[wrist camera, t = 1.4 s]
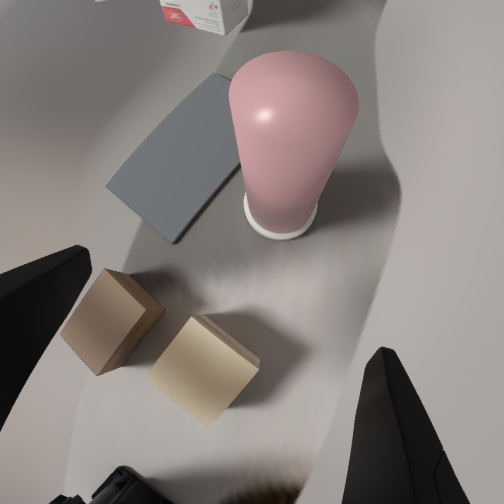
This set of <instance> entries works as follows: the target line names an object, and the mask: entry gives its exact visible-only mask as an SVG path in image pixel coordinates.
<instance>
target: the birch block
mask: <svg viewBox="0 0 504 504" xmlns="http://www.w3.org/2000/svg"><path fill="white" fill-rule="evenodd" d="M259 367H260V358H259V357H258V356H256V355H255V354H254V353H252V352H251V351H250V350H248V349H247V348H246V347H244V346H243V345H242V344H241V343H239V342H238V341H237V340H235V339H234V338H233V337H231V336H230V335H229V334H228V333H226V332H225V331H224V330H223V329H221V328H220V327H219V326H217V325H216V324H215V323H214V322H212V321H211V320H210V319H209V318H208V317H206V316H205V315H199V316H191V317H190V319H189V320H188V321H187V323H186V324H185V325H184V327H183V328H182V329H181V330H180V332H179V333H178V334H177V336H176V337H175V338H174V339H173V341H172V342H171V343H170V345H169V346H168V347H167V349H166V350H165V351H164V352H163V354H162V355H161V356H160V358H159V359H158V360H157V361H156V363H155V364H154V365H153V367H152V368H151V369H150V371H149V372H148V373H147V375H146V376H145V378H146V379H147V380H148V381H149V382H151V383H152V384H153V385H154V386H155V387H156V388H158V389H159V390H160V391H161V392H162V393H163V394H165V395H166V396H167V397H168V398H170V399H171V400H172V401H173V402H174V403H176V404H177V405H178V406H179V407H181V408H182V409H183V410H185V411H186V412H187V413H188V414H190V415H191V416H192V417H194V418H195V419H196V420H198V421H199V422H200V423H202V424H203V425H204V426H206V427H207V428H209V427H210V426H211V425H212V424H213V423H214V422H215V420H216V419H217V418H218V417H219V416H220V415H221V414H222V413H223V411H224V410H225V409H226V408H227V407H228V406H229V405H230V404H231V402H232V401H233V400H234V399H235V398H236V397H237V395H238V394H239V393H240V392H241V391H242V390H243V388H244V387H245V386H246V385H247V384H248V383H249V381H250V380H251V379H252V378H253V377H254V375H255V374H256V373H257V372H258V371H259Z"/></svg>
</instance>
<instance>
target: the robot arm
mask: <svg viewBox="0 0 504 504" xmlns="http://www.w3.org/2000/svg"><path fill="white" fill-rule="evenodd" d="M91 273H92V265H91V259H90V253H89V250H88V249H87V248H85V247H83V246H80V245H75V246H72V247H70V248H67V249H64V250H61V251H59V252H56V253H53V254H50V255H48V256H45V257H42V258H40V259H37V260H35V261H32V262H30V263H27V264H24V265H22V266H19V267H17V268H14V269H12V270H9V271H7V272H4V273H2V274H0V431H1V429H2V427H3V425H4V423H5V421H6V419H7V417H8V415H9V413H10V411H11V409H12V407H13V405H14V403H15V401H16V399H17V398H18V395H19V394H20V392H21V390H22V388H23V387H24V385H25V383H26V381H27V380H28V378H29V376H30V374H31V373H32V371H33V369H34V368H35V366H36V364H37V363H38V361H39V359H40V358H41V356H42V354H43V353H44V351H45V350H46V348H47V346H48V345H49V343H50V341H51V340H52V339H53V337H54V335H55V334H56V332H57V331H58V329H59V327H60V326H61V325H62V323H63V322H64V320H65V319H66V317H67V316H68V314H69V312H70V311H71V309H72V307H73V306H74V304H75V302H76V300H77V298H78V297H79V295H80V293H81V291H82V289H83V288H84V286H85V284H86V283H87V281H88V279H89V278H90V275H91ZM120 471H122V472H123V473H121V472H120ZM91 497H92V499H93V500H92V501H91V502H90V503H89V504H173V503H172V502H170V501H169V500H167V499H166V498H164V497H163V496H161V495H160V494H158V493H157V492H156V491H154V490H153V489H151V488H150V487H149V486H147V485H146V484H145V483H143V482H142V481H141V480H139V479H138V478H137V477H135V476H134V475H133V474H132V473H130V472H129V471H128V470H127V469H125V468H124V467H122V466H119V467H117V468H116V469H115V470H114V472H113V473H112V474H111V475H110V476H109V477H108V478H107V479H106V480H105V482H104V483H103V484H102V485H101V486H100V487H99V488H98V489H97V490H96V491H95V493H94V494H93V495H92V496H91ZM49 504H86V503H85V502H84V501H83V499H82V498H81V497H80V496H79V495H78V494H77V495H76V496H74V497H73V498H72V497H66V496H63V495H59V496H58V497H56V498H55V499H54V500H53V501H51V502H50V503H49ZM342 504H470V502H469V500H468V498H467V496H466V494H465V492H464V491H463V489H462V487H461V485H460V483H459V481H458V479H457V477H456V475H455V473H454V470H453V468H452V466H451V464H450V462H449V460H448V458H447V455H446V453H445V451H444V450H443V446H442V444H441V442H440V440H439V438H438V436H437V433H436V431H435V429H434V427H433V425H432V423H431V421H430V418H429V416H428V414H427V412H426V410H425V408H424V406H423V404H422V402H421V400H420V398H419V396H418V394H417V392H416V390H415V388H414V386H413V384H412V382H411V380H410V378H409V376H408V375H407V373H406V371H405V369H404V367H403V365H402V364H401V361H400V360H399V358H398V356H397V354H396V352H395V351H394V350H393V349H390V348H386V347H380V348H379V349H378V350H377V351H376V353H375V354H374V355H373V356H372V358H371V359H370V360H369V361H368V363H367V365H366V367H365V371H364V376H363V382H362V387H361V392H360V396H359V401H358V406H357V410H356V416H355V423H354V431H353V439H352V446H351V453H350V460H349V466H348V472H347V478H346V483H345V489H344V494H343V500H342Z"/></svg>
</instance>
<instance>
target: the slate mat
mask: <svg viewBox="0 0 504 504" xmlns="http://www.w3.org/2000/svg"><path fill="white" fill-rule="evenodd" d="M230 84H231V81H230V80H228V79H226V78H224V77H222V76H220V75H218V74H215V73H212V74H211V75H210V76H209V77H208V78H207V79H206V80H204V81H203V82H202V83H201V84H200V85H199V86H198V87H197V88H196V89H195V90H194V91H193V92H191V94H189V95H188V96H187V97H186V98H185V99H184V100H183V101H182V102H181V103H180V104H179V105H178V106H177V107H176V108H175V109H174V110H173V111H172V112H171V113H170V114H169V115H168V116H167V117H166V118H165V119H164V120H163V121H162V122H161V123H160V124H159V125H158V126H157V127H156V129H154V131H152V133H151V134H150V135H149V136H148V137H147V138H146V139H145V140H144V141H143V142H142V144H141V145H140V146H139V147H138V148H137V149H136V150H135V151H134V152H133V154H132V155H131V156H130V157H129V158H128V159H127V161H126V162H125V163H124V164H123V165H122V166H121V168H120V169H119V170H118V171H117V173H116V174H115V175H114V176H113V177H112V179H111V180H110V181H109V182H108V184H107V185H106V186H105V187H107V188H108V189H109V190H110V191H111V192H112V193H113V194H114V195H116V196H117V197H118V198H119V199H120V200H121V201H122V202H124V203H125V204H126V205H127V206H128V207H129V208H131V209H132V210H133V211H134V212H135V213H136V214H137V215H139V216H140V217H141V218H142V219H143V220H144V221H146V222H147V223H148V224H149V225H150V226H152V227H153V228H154V229H155V230H156V231H157V232H159V233H160V234H161V235H162V236H163V237H165V238H166V239H167V240H168V241H169V242H171V243H172V244H174V243H175V242H176V240H177V239H178V238H179V237H180V235H181V234H182V233H183V232H184V230H185V229H186V228H187V227H188V225H189V224H190V223H191V222H192V220H193V219H194V218H195V217H196V216H197V214H198V213H199V212H200V211H201V209H202V208H203V207H204V206H205V205H206V203H207V202H208V201H209V200H210V199H211V197H212V196H213V195H214V194H215V193H216V191H217V190H218V189H219V188H220V187H221V186H222V184H223V183H224V182H225V181H226V180H227V179H228V177H229V176H230V175H231V174H232V173H233V172H234V170H235V169H236V168H237V167H238V166H239V165H240V164H241V163H240V157H239V152H238V146H237V141H236V135H235V130H234V124H233V119H232V113H231V108H230V102H229V88H230Z"/></svg>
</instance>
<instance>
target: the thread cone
mask: <svg viewBox="0 0 504 504" xmlns="http://www.w3.org/2000/svg"><path fill="white" fill-rule="evenodd" d="M229 102H230V108H231V113H232V119H233V124H234V130H235V135H236V141H237V146H238V152H239V157H240V163H241V168H242V174H243V179H244V185H245V190H246V192H245V196H244V209H245V214H246V217H247V220H248V222H249V224H250V225H251V227H252V228H253V229H254V230H255V231H256V232H257V233H258V234H260V235H261V236H263V237H265V238H267V239H270V240H274V241H288V240H292V239H295V238H297V237H299V236H300V235H302V234H303V233H304V232H305V231H307V229H308V228H309V227H310V225H311V224H312V222H313V220H314V218H315V216H316V213H317V207H318V200H319V198H320V196H321V193H322V191H323V189H324V187H325V185H326V183H327V181H328V179H329V176H330V174H331V172H332V170H333V168H334V166H335V163H336V161H337V159H338V157H339V155H340V153H341V150H342V148H343V146H344V144H345V142H346V139H347V137H348V135H349V133H350V130H351V128H352V126H353V124H354V121H355V119H356V117H357V114H358V109H359V101H358V95H357V92H356V89H355V87H354V85H353V83H352V82H351V80H350V79H349V77H348V76H347V75H346V74H345V73H344V72H343V71H342V70H341V69H340V68H338V67H337V66H336V65H334V64H333V63H331V62H329V61H328V60H326V59H324V58H321V57H319V56H316V55H313V54H310V53H306V52H300V51H277V52H271V53H267V54H264V55H261V56H258V57H256V58H254V59H252V60H251V61H249V62H247V63H246V64H245V65H243V66H242V67H241V68H240V69H239V70H238V72H237V73H236V74H235V76H234V77H233V79H232V81H231V84H230V88H229Z"/></svg>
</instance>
